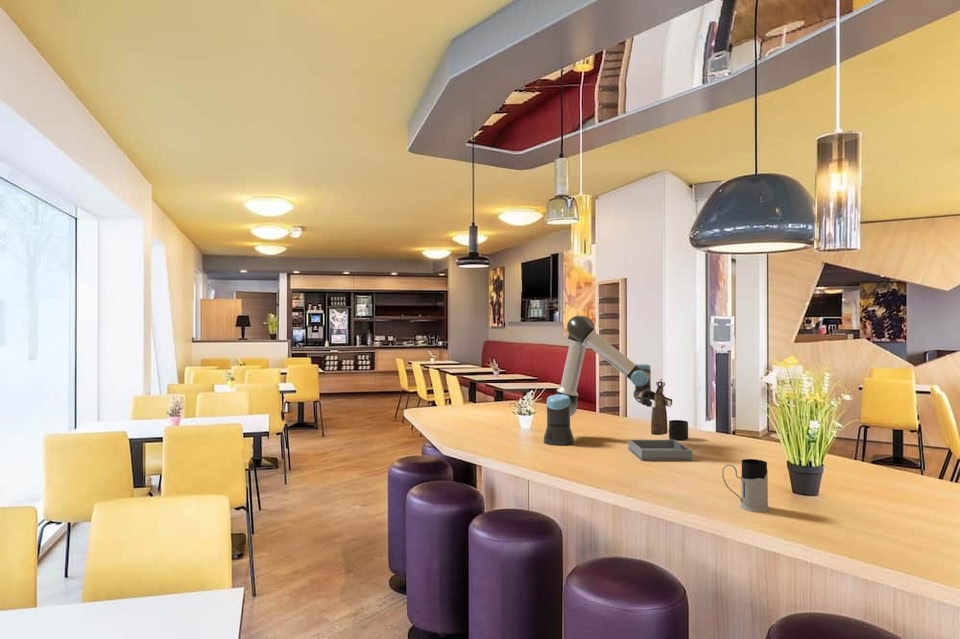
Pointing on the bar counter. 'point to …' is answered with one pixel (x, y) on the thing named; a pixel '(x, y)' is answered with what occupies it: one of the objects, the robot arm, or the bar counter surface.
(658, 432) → the statue
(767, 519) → the bar counter surface
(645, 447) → the box
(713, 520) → the bar counter surface
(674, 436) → the mug
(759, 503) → the glass holder
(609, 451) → the bar counter surface
